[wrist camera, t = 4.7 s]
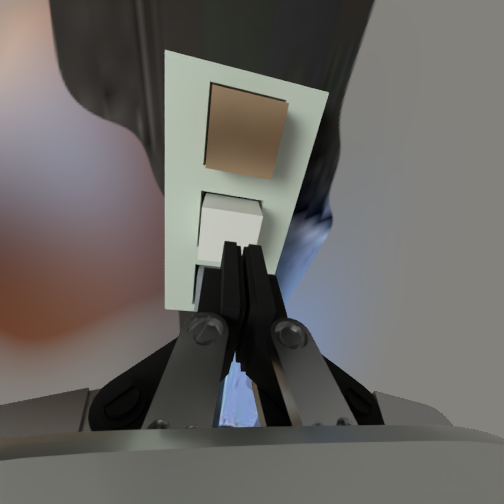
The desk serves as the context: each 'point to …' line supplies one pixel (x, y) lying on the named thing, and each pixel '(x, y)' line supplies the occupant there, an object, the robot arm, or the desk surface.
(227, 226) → the white key
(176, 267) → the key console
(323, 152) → the desk surface
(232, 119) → the walnut key
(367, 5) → the desk surface
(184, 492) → the robot arm
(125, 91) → the desk surface
